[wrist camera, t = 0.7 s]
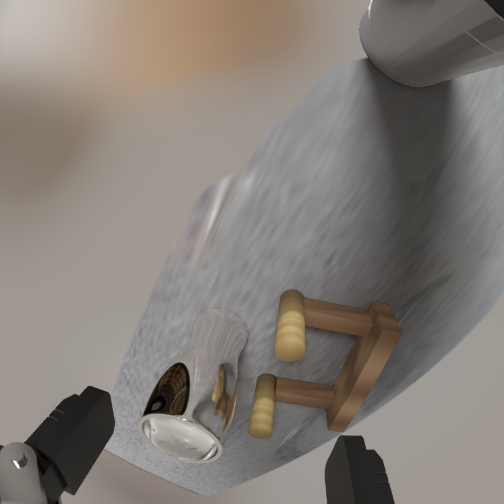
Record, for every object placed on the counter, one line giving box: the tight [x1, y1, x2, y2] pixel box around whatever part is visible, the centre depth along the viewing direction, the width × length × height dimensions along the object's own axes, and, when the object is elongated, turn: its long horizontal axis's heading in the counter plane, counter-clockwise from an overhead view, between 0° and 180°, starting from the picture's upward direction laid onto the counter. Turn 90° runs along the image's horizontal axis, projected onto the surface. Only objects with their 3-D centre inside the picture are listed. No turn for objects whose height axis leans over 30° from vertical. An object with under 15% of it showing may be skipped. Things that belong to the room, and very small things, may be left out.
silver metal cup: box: [138, 308, 248, 463], centre depth 26 cm, size 7×7×15 cm
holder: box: [248, 290, 402, 439], centre depth 29 cm, size 15×11×8 cm
